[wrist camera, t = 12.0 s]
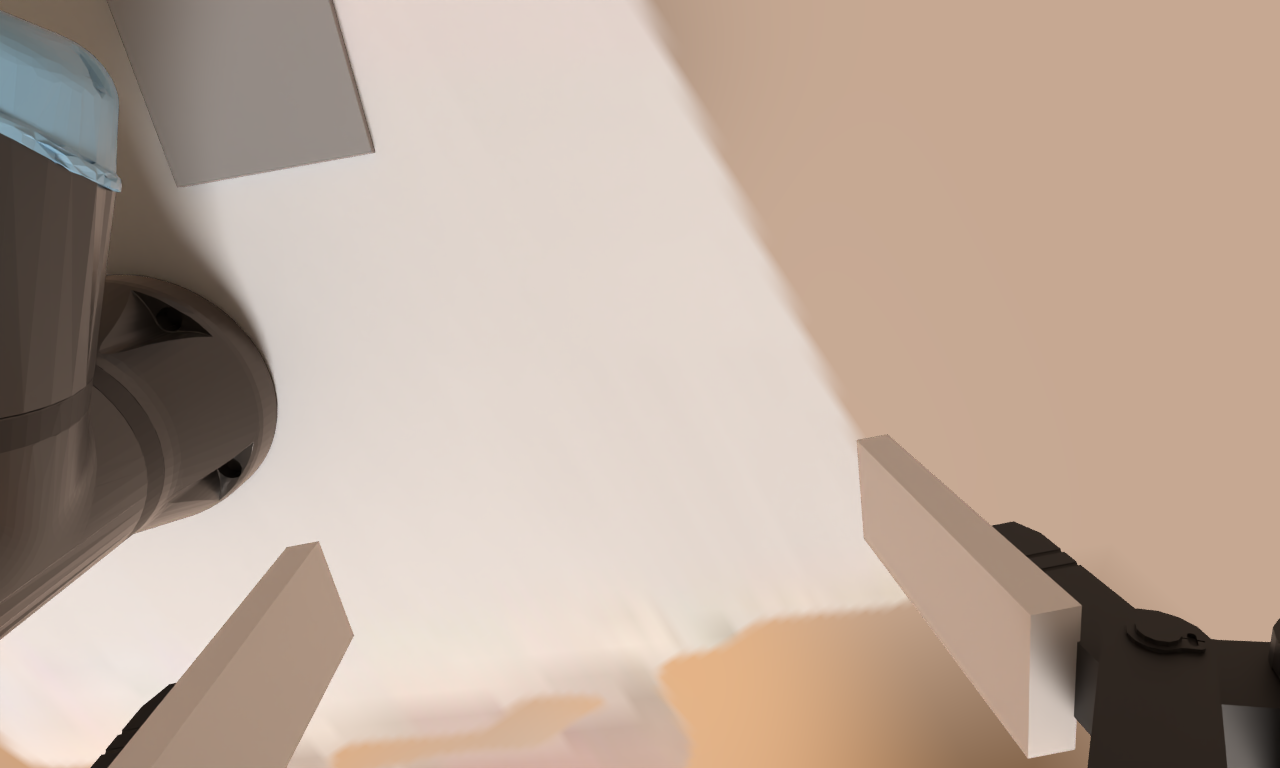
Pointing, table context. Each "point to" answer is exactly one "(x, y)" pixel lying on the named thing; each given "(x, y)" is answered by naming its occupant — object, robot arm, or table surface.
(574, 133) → the table surface
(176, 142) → the mat
